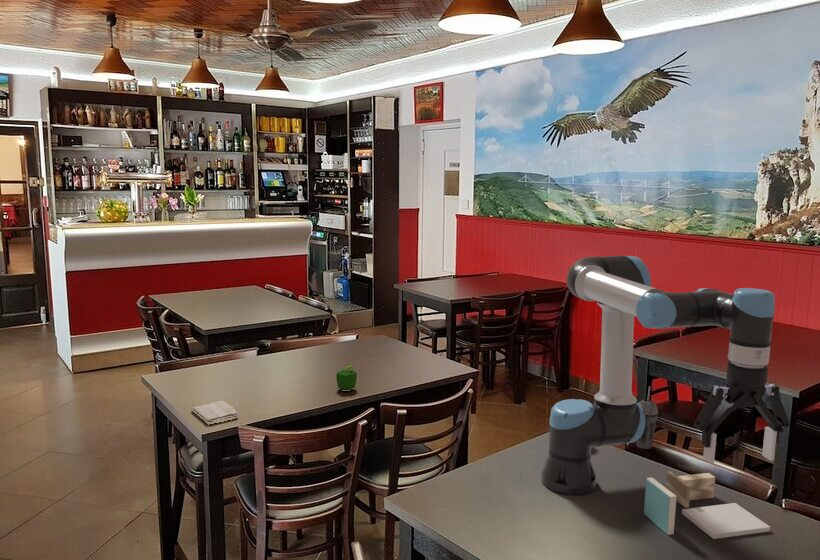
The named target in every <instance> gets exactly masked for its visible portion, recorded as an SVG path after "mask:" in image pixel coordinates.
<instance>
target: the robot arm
mask: <svg viewBox="0 0 820 560" xmlns="http://www.w3.org/2000/svg"><path fill="white" fill-rule="evenodd" d="M651 281H652V280H651V273H650V271H649V268H648V267H647V265H646V264H645V262H644V261H643V259H642V258H639V257H638V256H633V255H632V256H631V255H606V256H603V255H602V256H586V257H583V258H580V259H578V260H577V261H575V262H574V263H573V264H571V266H570V268H569V269H568V271H567V274H566V286H567V288H568V290H569V291H570V293H572V295H574V296H575V297H577V298H578V299H581V300H584V301H586V302H594V301H596V304H597V306H599V307H600V308H601V309H602V311H601V312H602V314H601V338H600V339H601V345H600V347H601V348H600V371H599V372H600V375H599V377H600V378H599V379H600V380H599V381H600V382H599V391H598V392H597V393H595V394H594V396H593V403H591V401H588V400H586V399H581V398H579V399H575V398H571V399H570V398H569V399H563V400H560V401H558V402H557V403H555V404H553V406H552V407H551V410H550V417H549V421H548V423H549V434H548V435H549V437H548V455H547V458H546V461H545V463H544V465H543V468H542V470H541V479H540V480H541V483H542V484H543V485H544V486H545V487H546V488H548V489H549V490H551V491H554V492H556V493H559V494H563V495H570V496H573V495H574V496H579V495H586V494H590V493H592V492H593V491H594V490H595V489H596V488H597V487H596V486H597V477H596V473H595V469H594V467H593V466H594V465H593V462H592V448H597V447H599V448H600V447H606V446H608V447H609V446H619V445H622V446H624V445H627V444H631V443H634V442H637V440H638V439H639V438H640V437H641V436H642V434H643V432H644V428H645V415H644V414H643V409H642V407H641V406H640V405H639V404H638V403H639V402H637V401H638V399H637V398H636V397H635V396H634V395H633V393H632V390H633V389H632V384H633V382H632V381H633V360H634V359H633V358H634V357H633V356H634V352H633V351H634V330H635V318H637V321H638V322H639V323H640V325H641V326H642V327H643V328H645V329H656V330H663V329H664V330H665V329H673V328H675V329H676V328H689V327H690V328H691V327H692V328H693V327H707V326H717V327H719V328H724V329H726V330H730V331H729V332H730V333H729V334H730V335H729V343H728V354H727V359H728V360H729V361H728V362H727V363H726V365H727V366H726V375H725V377H726V381H727V382H726V385H725V386H719V385H716V384H713V385H712V386H711V387H710V393H709V396H708V398H707V399H706V401H705V403H704V405H703V407H702V409H701V410H700V412H699V414H698V416H697V417H696V418H695V421H694V422H693V426H694V427H695V428H696V429H698V430H699V431H700V432H701V446H703V454H702V455H703V456H702V459H704V461H706V462H708V463H709V464H710V465H712V464H713V465H714V464H715V455H716V454H715V453H716V444H717V435H718V434H717V433H715V431H716V430H717V429H718V427H719V426H720V425H721V424H722V422H724V421H725V419H726V418H728V416H729V415H731V413H732V412H733V411H736V410H737V409H738V408H739V409H743V408H754V407H755V409H756V410H757V411H758V413H759V414H760V415H761V417H762V418H763V419H764V421H765V422H766V423H767V425H768V426H764V433H763V444H762V445H763V446H762V453H761V456H763V457H764V458H765V459H767V460H769V461H770V462H773V461H775V453H776V445H778V444H779V441H780V434H781V433H783V432H784V431H785V428H787V429H788V428H789V427H790V426H791V424H790V420H789V418H788V414H787V413H786V410H785V407H784V404H783V402H782V400H781V397H780V387H779V386H777V385H776V384H773V383H771V382H768V375H769V374H768V373H769V367H768V364H769V363H770V354H771V344H772V342H771V340H772V335H773V324H774V319H775V318H774V317H775V314H776V311H775V307H776V306H775V299H776V298H775V294H774V293H773V292H772V291H770V290H767V289H760V288H755V287H753V288H752V287H741V288H737V289H735V290H734V292H733V294H732V293H729V292H725V291H721V290H719V289H716V288H709V287H708V288H707V287H701V288H698V289H696V290H695V291H688V292H687V291H686V292H685V291H684V292H670V291H669V292H668V291H665V290H662V289H658V288H656V287H652V286H651V283H652V282H651ZM765 394H766V397H767V399H768V402H769V404H770V407H771V410H772V411H770V409H769V408H768V406H767V404H766V402H765V401H764V400H763V397H764V395H765Z"/></svg>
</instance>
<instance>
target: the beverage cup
mask: <svg viewBox="0 0 820 560" xmlns="http://www.w3.org/2000/svg"><path fill="white" fill-rule="evenodd" d="M647 392H648V393H647V398H646V399H641V400H640V401H638V402H637V403H638V404H639V405H640V406H641V407H642V409H643V414H644V415H645V428H644V432H643V434H642V436H641V437H640V438H639V439H638V440H637V441H636V446H637V448H640V449H643V450H649V449H652V448H653V442H654V437H655V430H656V425H657V420H658V418H659V417H658V416H659V409H658V406H657V404H655V402H654V401H652V400H650V393H651V386H648V391H647Z"/></svg>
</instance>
